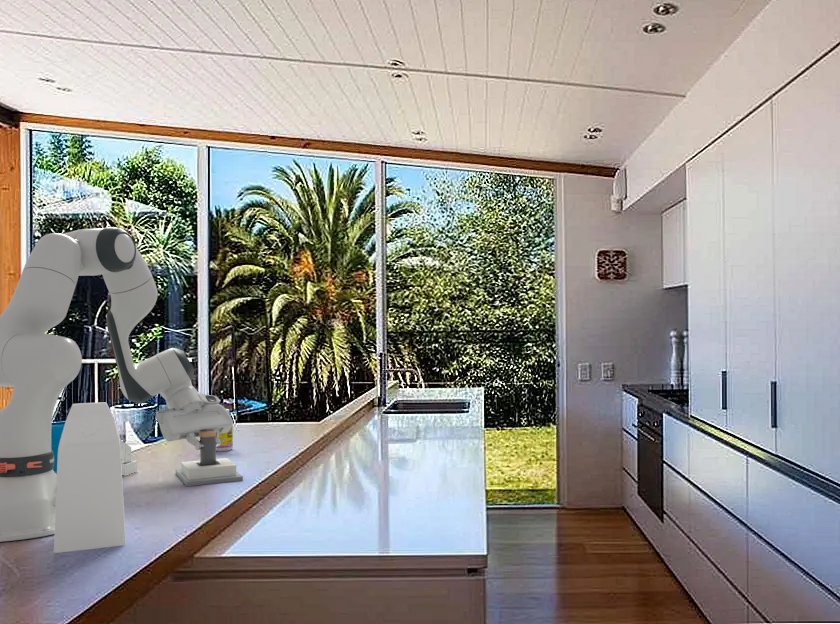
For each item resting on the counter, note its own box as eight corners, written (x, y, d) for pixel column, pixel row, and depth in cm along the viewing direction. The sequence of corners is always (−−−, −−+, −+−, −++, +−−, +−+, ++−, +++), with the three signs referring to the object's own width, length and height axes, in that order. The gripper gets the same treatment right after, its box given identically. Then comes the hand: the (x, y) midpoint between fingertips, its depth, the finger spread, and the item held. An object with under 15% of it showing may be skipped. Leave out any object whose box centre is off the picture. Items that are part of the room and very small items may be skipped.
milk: (125, 529, 153) (123, 398, 154) (125, 545, 143) (123, 404, 143) (58, 536, 149) (57, 402, 149) (53, 553, 138) (51, 408, 139)
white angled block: (103, 469, 203) (112, 438, 207) (122, 481, 211) (131, 451, 215) (115, 470, 202) (125, 438, 206) (134, 482, 210) (143, 451, 215)
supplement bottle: (229, 451, 242) (229, 410, 242) (208, 451, 242) (208, 410, 242) (235, 448, 249) (234, 408, 249) (214, 448, 249) (214, 408, 249)
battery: (217, 469, 203) (217, 431, 203) (201, 470, 201) (201, 432, 201) (214, 466, 206) (214, 429, 206) (198, 468, 204) (198, 430, 205)
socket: (242, 480, 198) (242, 466, 199) (186, 486, 192) (186, 472, 192) (227, 468, 215) (227, 455, 215) (175, 473, 209) (175, 460, 209)
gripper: (157, 403, 200) (179, 444, 194) (222, 396, 216) (245, 434, 210) (148, 419, 203) (169, 460, 197) (213, 411, 219) (235, 448, 212)
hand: (209, 446), depth 203 cm, fingers closed on battery, 4 cm apart
